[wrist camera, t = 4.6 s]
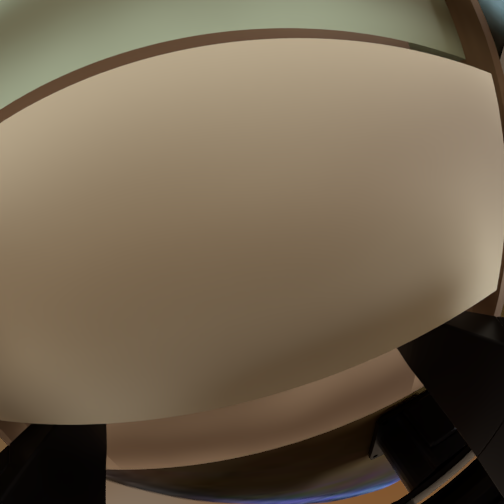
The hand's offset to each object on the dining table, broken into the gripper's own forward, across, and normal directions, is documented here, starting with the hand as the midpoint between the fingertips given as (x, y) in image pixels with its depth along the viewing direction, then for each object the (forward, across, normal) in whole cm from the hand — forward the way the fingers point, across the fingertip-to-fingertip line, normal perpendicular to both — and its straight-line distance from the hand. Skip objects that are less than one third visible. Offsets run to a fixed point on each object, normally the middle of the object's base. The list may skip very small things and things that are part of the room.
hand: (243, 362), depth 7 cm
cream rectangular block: (+1, 0, -4) cm, 4 cm away
